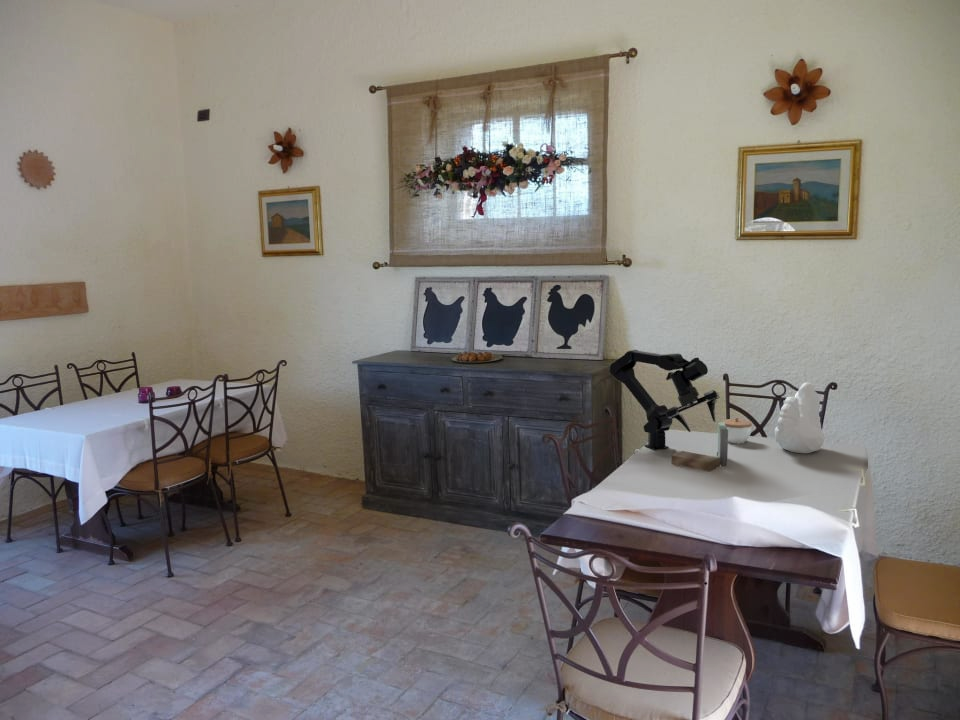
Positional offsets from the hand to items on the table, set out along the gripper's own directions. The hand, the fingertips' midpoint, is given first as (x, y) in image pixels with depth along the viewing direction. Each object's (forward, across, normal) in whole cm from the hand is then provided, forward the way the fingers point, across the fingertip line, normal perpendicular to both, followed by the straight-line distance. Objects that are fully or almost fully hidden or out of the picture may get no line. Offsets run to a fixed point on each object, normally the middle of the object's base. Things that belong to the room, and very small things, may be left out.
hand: (702, 426), depth 249 cm
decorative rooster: (+18, +22, +24) cm, 37 cm away
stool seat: (+12, -6, -6) cm, 15 cm away
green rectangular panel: (+13, +1, +1) cm, 13 cm away
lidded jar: (+7, +5, +30) cm, 32 cm away
